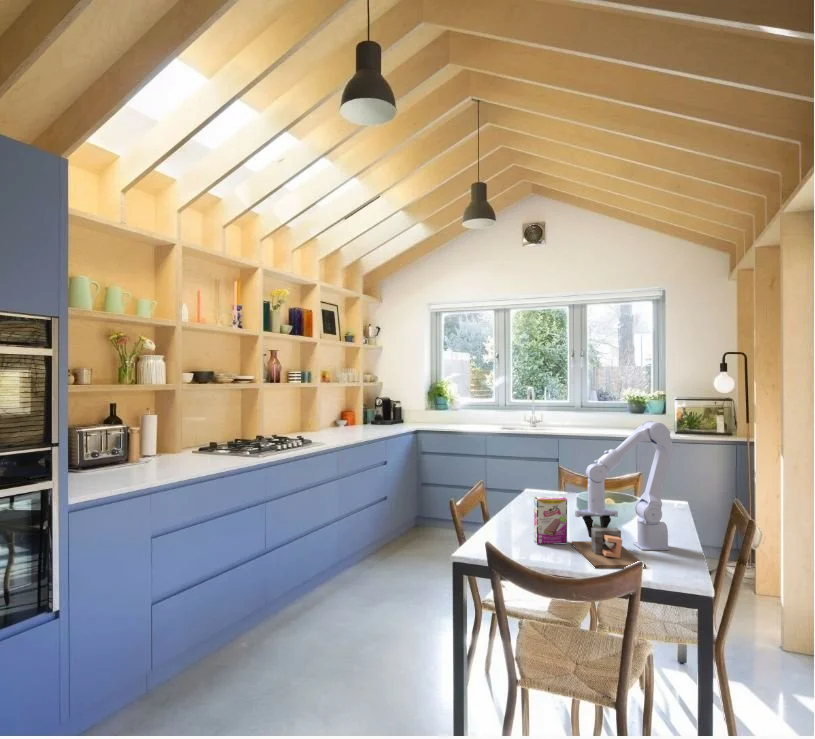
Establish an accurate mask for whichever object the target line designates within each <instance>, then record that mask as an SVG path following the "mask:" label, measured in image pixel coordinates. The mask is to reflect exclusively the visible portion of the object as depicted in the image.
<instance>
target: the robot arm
mask: <svg viewBox="0 0 815 739" xmlns="http://www.w3.org/2000/svg"><path fill="white" fill-rule="evenodd" d="M647 442H650V443H651V444H652V446H653V447H654V449H655V453H654V456H653V459H652V460H653V461H652V463H651V468H650V472H649V475H648V479H647V482H646V486H645V490H644V492H643V494H641V495H640V498H639V500H638V502H636V504H635V505H634V510H635V513H636V515H637V522H636V523H637V542H635V541H633V545H635V546H636V547H637V548H638V549H640V550H641V551H668V550H670V548H669V531H668V530H669V529H668V527H667V526H668V525H667V524H666V523H665V522H664V521H661V519H662V518H663V511H662V506H663V503H662V502H663V501H662V498H661V497H662V494H663V489H664V485H665V481H666V479H667V475H668V471H669V466H670V463H671V460H672V457H673V456H672V455H673V452H674V445H673V442H672V438H671V431H670V429H669V428H668V427H667V426H666V424H664V423H662V422H656V421H653V420H646V421H644V422H642V425H639V426H637V428H635V429H634V431H632V433H631V434H630V435H629V436H628V437H627V438H625V440H623V441H622V442H621V443H620V444H619V445H618V446H617V447H616V448H615V449H613V448H610V449H609V450H604V451H603V453H604V454H603V455H602V456H600V457H599V458H598V459H594V461H593V462H594V463H591V464H589V465H588V466H587V467H586V470H585V471H584V473H585V476H586V477H587V509H580V510H579V509H578V510H574V516H575V517H576V518H580V517H581V518H582V519H583V522H584V524H585V526H586V530H587V533H588V537H589V538H591V528H592V527H593V526H594V525H593V524H594V519H593V518H592V517H596V518H597V517H599V524H600V525H599V526H600V527H602V528H609V524H610V523H611V522H612V518H611V517H614V518H618V517H619V514H618V511H619V510H614V509H606V508H605V507H606V506H605V505H606V502H605V499H606V498H605V493H606V491H605V490H606V488H605V480H606V479H607V476H608V474H609V473H610V472H612V471H613V470H614V469H615V468H616V467H617V466H618V465H620V464H621V463H622V462H623V456H625V455H626V454H627V453H628V452H630V451H631V450H633V449H634V448H635V447H636V446H637V445H639V444H640V443H647Z"/></svg>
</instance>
